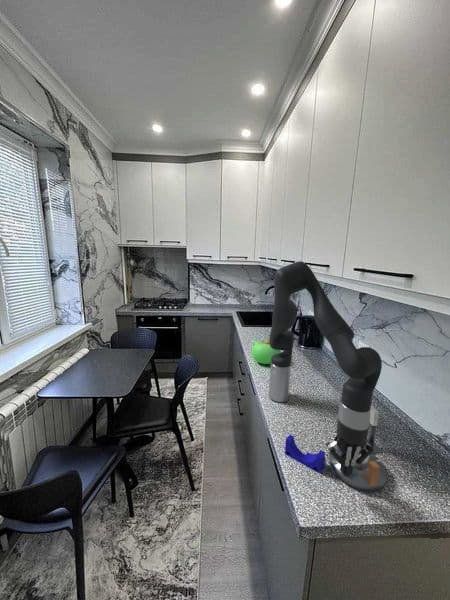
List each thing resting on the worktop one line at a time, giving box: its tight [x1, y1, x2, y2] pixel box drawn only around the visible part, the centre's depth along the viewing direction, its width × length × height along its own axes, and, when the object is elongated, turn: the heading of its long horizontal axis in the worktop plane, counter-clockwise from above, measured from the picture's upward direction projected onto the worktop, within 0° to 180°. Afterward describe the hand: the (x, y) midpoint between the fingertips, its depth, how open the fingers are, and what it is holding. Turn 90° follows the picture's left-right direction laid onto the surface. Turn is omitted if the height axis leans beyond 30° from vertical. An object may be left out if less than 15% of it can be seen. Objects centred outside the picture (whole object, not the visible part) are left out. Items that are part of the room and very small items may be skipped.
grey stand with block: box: [367, 404, 384, 454], centre depth 87 cm, size 6×5×16 cm
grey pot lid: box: [328, 446, 388, 492], centre depth 78 cm, size 16×16×8 cm
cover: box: [353, 454, 369, 470], centre depth 78 cm, size 7×7×5 cm
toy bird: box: [251, 339, 282, 365], centre depth 156 cm, size 18×17×15 cm
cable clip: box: [284, 434, 327, 474], centre depth 82 cm, size 12×4×6 cm, turn 50°
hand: (345, 474), depth 70 cm, fingers closed
